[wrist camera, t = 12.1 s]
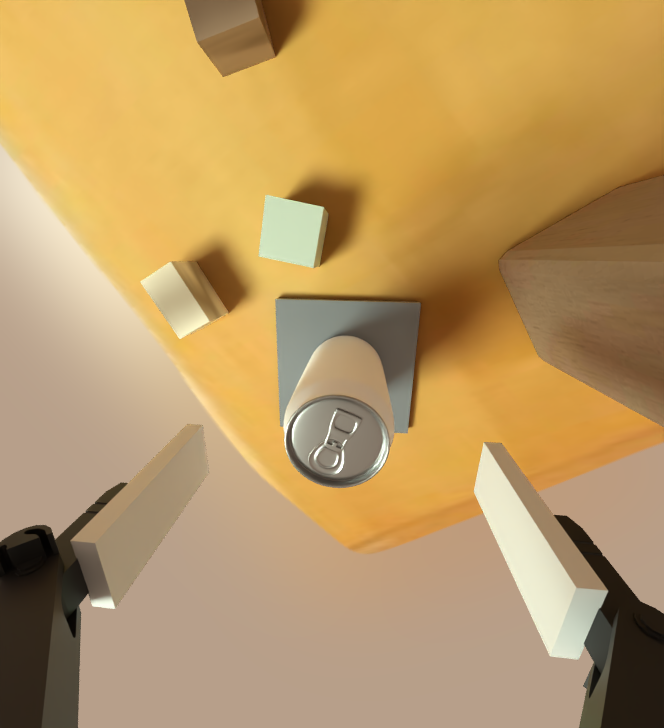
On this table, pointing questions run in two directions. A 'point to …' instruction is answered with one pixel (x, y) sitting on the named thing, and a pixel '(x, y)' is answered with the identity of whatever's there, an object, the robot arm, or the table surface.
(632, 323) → the wooden block
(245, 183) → the table surface
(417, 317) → the slate coaster
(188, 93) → the table surface
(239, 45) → the walnut block
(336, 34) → the table surface
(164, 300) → the pale birch block
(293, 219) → the sage painted cube
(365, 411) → the can
